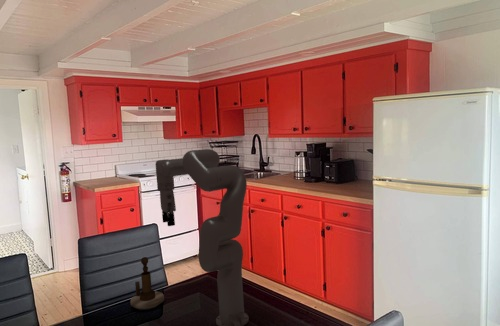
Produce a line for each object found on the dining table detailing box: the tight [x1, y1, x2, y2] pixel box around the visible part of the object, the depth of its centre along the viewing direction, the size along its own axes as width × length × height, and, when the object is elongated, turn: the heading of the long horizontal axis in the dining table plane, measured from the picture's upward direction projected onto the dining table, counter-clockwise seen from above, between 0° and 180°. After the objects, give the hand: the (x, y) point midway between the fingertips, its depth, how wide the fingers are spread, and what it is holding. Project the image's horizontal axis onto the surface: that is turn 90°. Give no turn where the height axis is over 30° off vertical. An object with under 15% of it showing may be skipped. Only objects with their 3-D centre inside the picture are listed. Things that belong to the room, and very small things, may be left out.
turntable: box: [130, 281, 165, 309], centre depth 167 cm, size 14×14×8 cm
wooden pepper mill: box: [140, 256, 156, 301], centre depth 167 cm, size 7×6×18 cm
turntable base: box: [136, 304, 160, 311], centre depth 168 cm, size 10×10×1 cm
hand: (168, 223), depth 176 cm, fingers open, 9 cm apart
